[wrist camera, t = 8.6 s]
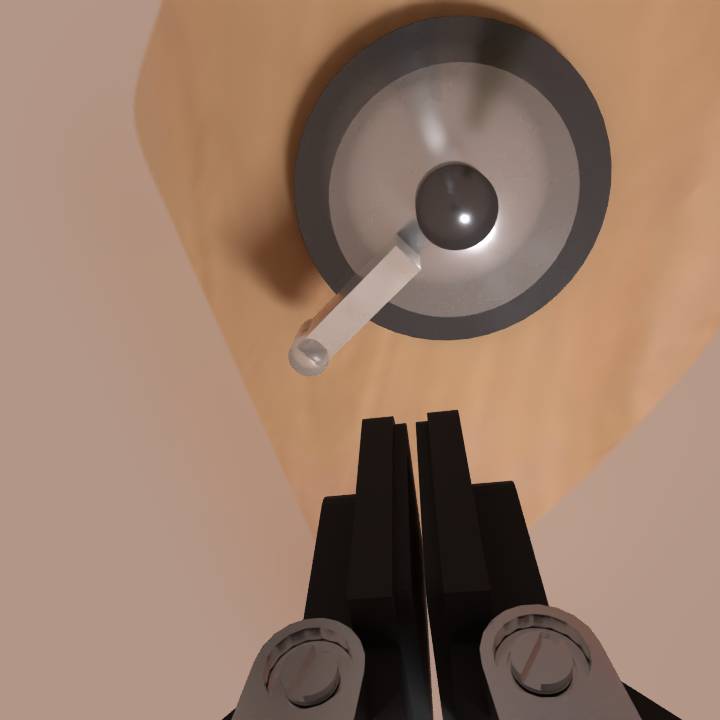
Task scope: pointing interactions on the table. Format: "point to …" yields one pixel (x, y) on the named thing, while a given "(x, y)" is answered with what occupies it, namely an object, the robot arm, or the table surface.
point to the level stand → (425, 49)
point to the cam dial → (444, 200)
